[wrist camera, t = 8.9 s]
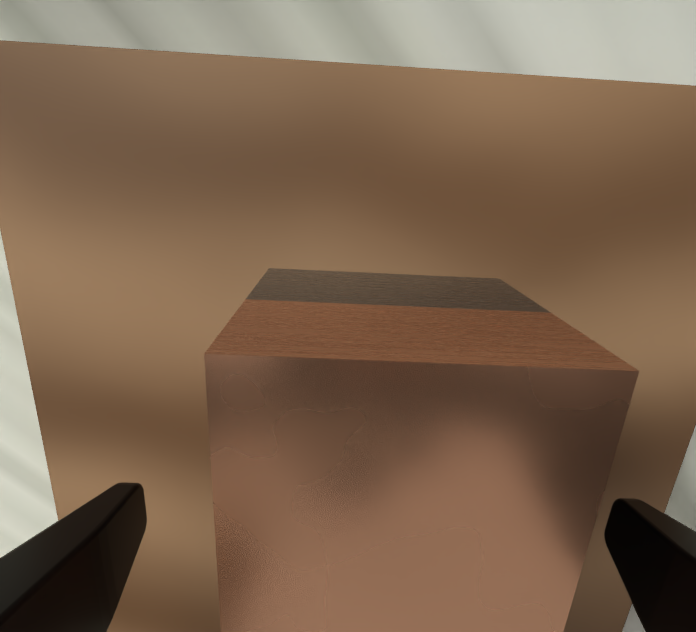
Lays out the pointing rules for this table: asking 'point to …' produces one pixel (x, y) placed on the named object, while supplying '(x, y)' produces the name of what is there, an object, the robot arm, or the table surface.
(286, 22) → the table surface
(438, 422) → the block
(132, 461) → the walnut stand
